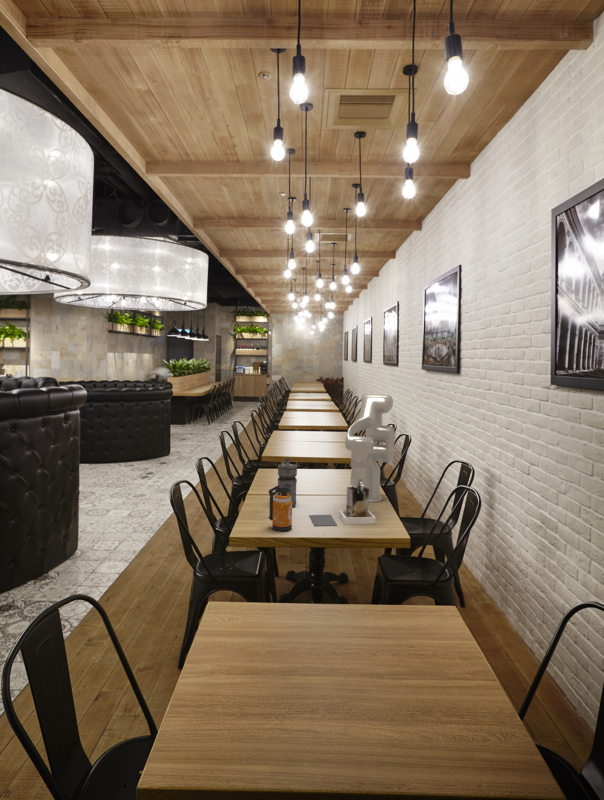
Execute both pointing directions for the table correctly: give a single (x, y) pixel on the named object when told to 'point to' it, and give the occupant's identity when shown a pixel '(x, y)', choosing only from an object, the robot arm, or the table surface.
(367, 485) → the robot arm
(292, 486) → the beverage bottle
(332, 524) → the mat
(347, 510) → the coffee box
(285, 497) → the canister
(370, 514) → the holder
